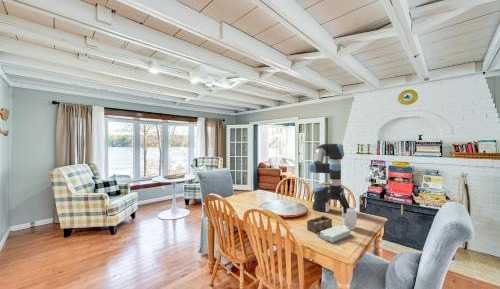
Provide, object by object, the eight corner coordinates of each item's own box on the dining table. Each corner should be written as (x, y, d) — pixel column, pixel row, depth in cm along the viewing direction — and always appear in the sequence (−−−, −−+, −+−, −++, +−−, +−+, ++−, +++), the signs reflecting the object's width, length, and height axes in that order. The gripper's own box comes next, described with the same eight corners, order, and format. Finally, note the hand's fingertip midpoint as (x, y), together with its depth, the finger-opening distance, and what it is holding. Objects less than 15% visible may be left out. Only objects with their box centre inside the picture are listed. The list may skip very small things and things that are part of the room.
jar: (344, 223, 166) (344, 205, 165) (358, 227, 159) (358, 207, 159) (340, 228, 157) (340, 209, 157) (354, 232, 151) (355, 211, 150)
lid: (338, 229, 154) (338, 225, 154) (350, 235, 145) (350, 230, 145) (318, 237, 143) (318, 232, 143) (330, 243, 135) (330, 237, 135)
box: (323, 224, 165) (323, 215, 165) (331, 228, 158) (331, 219, 158) (307, 229, 156) (307, 220, 156) (315, 233, 149) (315, 224, 149)
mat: (337, 229, 156) (337, 228, 156) (353, 236, 145) (353, 235, 145) (317, 236, 145) (317, 235, 145) (332, 244, 134) (332, 244, 134)
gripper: (317, 182, 152) (317, 210, 153) (348, 189, 131) (348, 221, 132) (324, 180, 156) (324, 208, 157) (355, 187, 135) (355, 219, 136)
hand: (335, 214), depth 145 cm, fingers open, 13 cm apart
